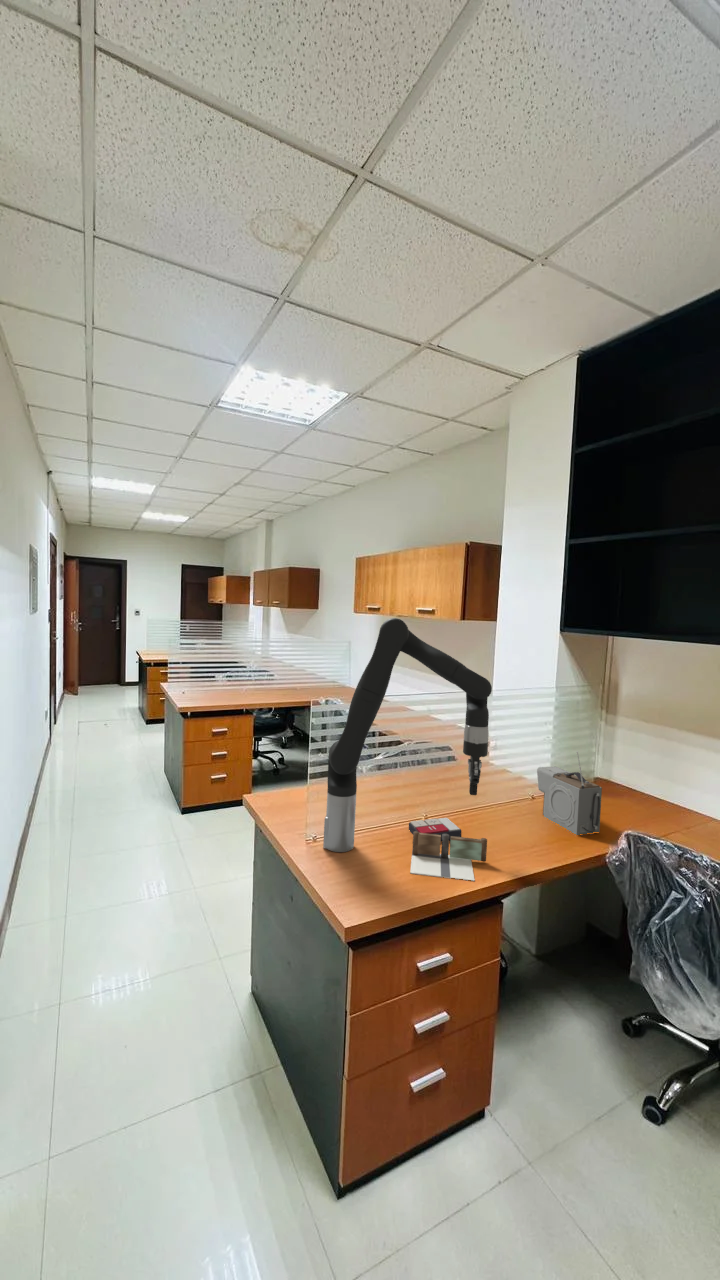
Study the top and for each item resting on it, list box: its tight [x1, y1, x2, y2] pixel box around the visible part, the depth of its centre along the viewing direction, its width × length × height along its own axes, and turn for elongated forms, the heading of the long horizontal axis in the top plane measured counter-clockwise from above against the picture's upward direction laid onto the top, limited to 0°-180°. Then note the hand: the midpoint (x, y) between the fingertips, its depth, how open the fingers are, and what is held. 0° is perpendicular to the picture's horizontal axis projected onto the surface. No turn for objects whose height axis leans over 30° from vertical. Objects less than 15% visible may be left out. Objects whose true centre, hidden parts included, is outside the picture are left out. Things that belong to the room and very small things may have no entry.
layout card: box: [409, 853, 476, 882], centre depth 143 cm, size 18×14×1 cm
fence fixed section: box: [411, 831, 450, 859], centre depth 148 cm, size 11×2×7 cm, turn 81°
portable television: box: [536, 751, 603, 836], centre depth 181 cm, size 12×24×30 cm, turn 18°
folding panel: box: [449, 836, 488, 863], centre depth 147 cm, size 11×2×6 cm, turn 81°
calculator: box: [408, 817, 462, 843], centre depth 165 cm, size 11×4×15 cm
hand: (473, 794), depth 151 cm, fingers closed
